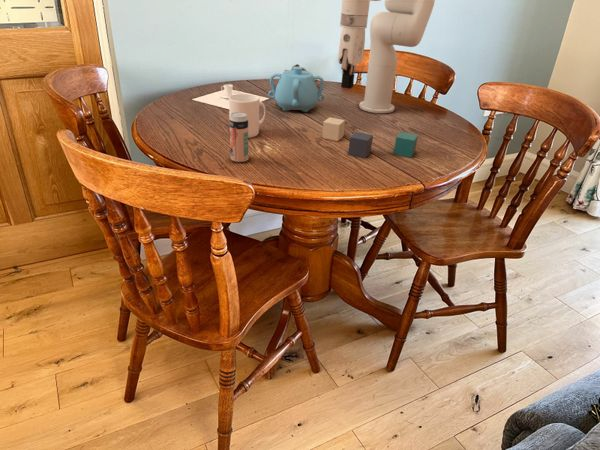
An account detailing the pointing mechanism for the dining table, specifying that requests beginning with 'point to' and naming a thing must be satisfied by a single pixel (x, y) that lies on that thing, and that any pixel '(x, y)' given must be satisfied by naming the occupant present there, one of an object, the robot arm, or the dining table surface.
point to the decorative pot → (296, 90)
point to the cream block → (333, 129)
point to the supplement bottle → (238, 137)
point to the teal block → (405, 144)
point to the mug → (248, 110)
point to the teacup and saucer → (222, 97)
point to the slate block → (360, 144)
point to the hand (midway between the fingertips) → (347, 87)
